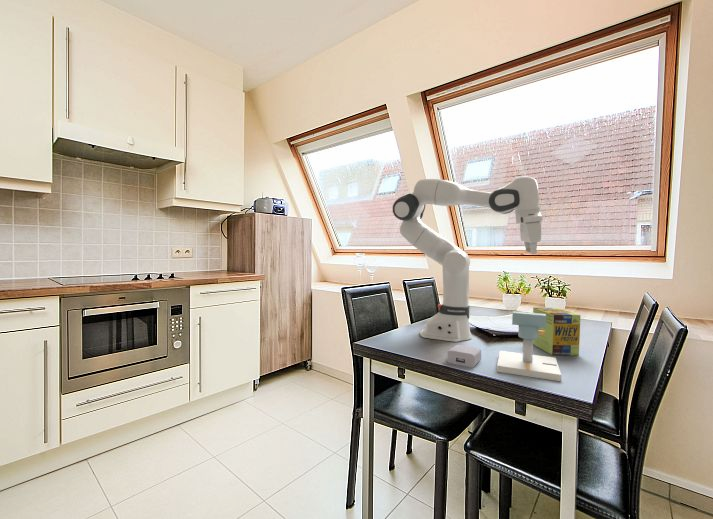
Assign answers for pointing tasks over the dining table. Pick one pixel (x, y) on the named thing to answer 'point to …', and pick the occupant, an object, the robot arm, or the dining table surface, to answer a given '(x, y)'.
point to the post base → (528, 363)
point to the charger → (464, 355)
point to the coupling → (529, 324)
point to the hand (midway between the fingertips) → (531, 253)
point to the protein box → (559, 332)
